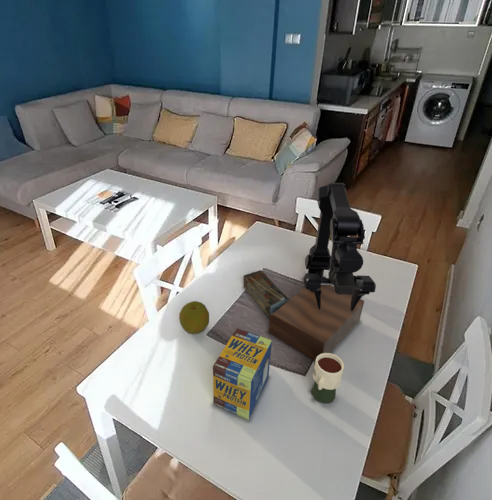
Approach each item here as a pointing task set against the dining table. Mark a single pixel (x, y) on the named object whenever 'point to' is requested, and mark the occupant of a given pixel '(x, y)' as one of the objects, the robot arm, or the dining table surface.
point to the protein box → (241, 372)
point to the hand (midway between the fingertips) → (335, 309)
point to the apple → (194, 317)
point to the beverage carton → (264, 292)
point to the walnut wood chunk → (315, 321)
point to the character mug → (327, 377)
